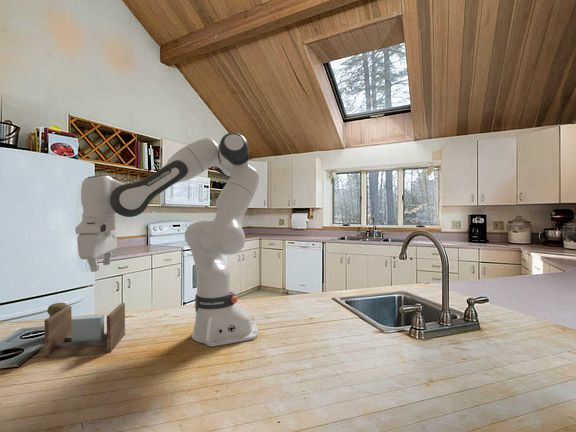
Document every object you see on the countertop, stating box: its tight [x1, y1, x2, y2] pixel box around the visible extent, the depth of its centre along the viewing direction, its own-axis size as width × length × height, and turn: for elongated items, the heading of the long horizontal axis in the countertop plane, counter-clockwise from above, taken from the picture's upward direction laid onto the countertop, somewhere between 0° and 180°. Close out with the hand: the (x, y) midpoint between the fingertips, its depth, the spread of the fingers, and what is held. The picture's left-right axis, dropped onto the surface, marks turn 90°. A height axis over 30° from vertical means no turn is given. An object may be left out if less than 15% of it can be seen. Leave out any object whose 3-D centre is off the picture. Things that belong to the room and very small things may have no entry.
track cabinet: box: [44, 302, 126, 359], centre depth 88 cm, size 17×12×11 cm
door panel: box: [71, 314, 105, 342], centre depth 88 cm, size 8×2×8 cm, turn 102°
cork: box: [46, 302, 68, 317], centre depth 94 cm, size 6×6×11 cm
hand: (101, 267), depth 92 cm, fingers open, 8 cm apart
